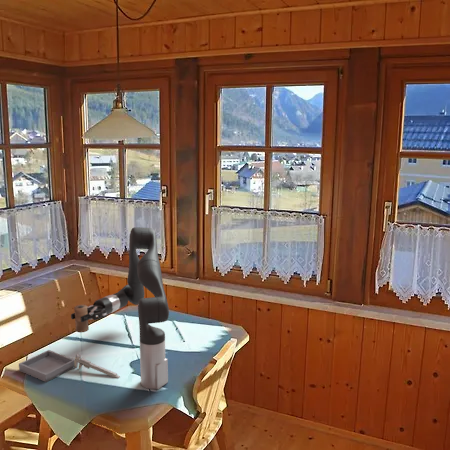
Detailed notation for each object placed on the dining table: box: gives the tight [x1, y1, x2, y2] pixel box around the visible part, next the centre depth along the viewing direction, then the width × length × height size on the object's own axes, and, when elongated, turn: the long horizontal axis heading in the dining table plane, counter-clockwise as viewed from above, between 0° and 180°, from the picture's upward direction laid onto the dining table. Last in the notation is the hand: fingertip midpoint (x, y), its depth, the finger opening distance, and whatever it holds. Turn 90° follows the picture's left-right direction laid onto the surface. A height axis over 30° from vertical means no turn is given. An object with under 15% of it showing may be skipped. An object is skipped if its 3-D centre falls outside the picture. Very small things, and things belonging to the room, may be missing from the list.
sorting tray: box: [18, 349, 75, 383], centre depth 188 cm, size 16×14×3 cm
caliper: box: [74, 353, 121, 379], centre depth 185 cm, size 20×1×6 cm, turn 69°
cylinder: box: [73, 304, 90, 333], centre depth 195 cm, size 5×5×10 cm
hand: (76, 318), depth 193 cm, fingers closed on cylinder, 5 cm apart
